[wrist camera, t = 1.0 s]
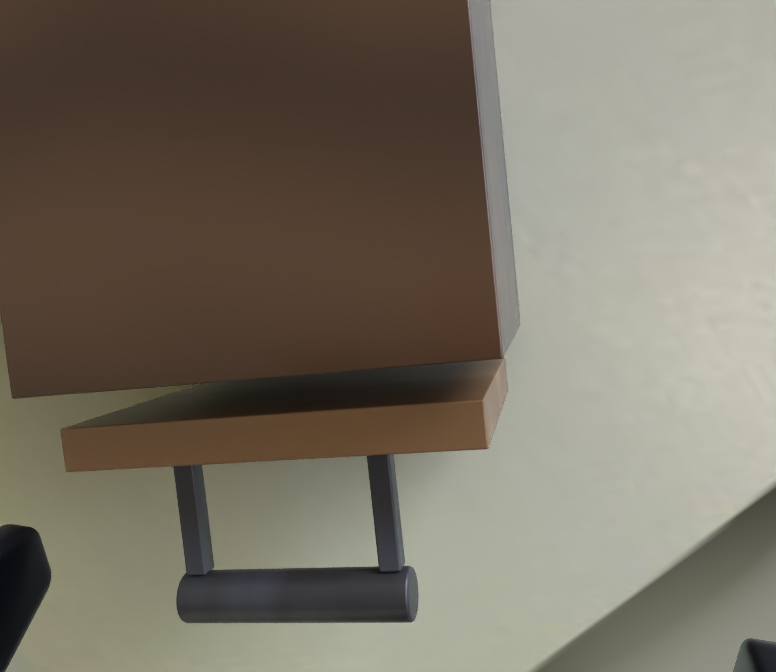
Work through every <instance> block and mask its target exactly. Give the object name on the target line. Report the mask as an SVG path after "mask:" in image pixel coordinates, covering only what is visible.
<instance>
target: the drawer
mask: <svg viewBox="0 0 776 672" xmlns="http://www.w3.org/2000/svg"><path fill="white" fill-rule="evenodd" d="M507 392H508V383H507V373H506V362H505V358H502V359H496V360H484V361H472V362H460V363H447V364H435V365H423V366H410V367H398V368H386V369H373V370H361V371H349V372H337V373H324V374H312V375H300V376H287V377H275V378H263V379H250V380H238V381H226V382H214V383H203V384H200V385H197V386H194V387H191V388H188V389H185V390H181V391H178V392H175V393H172V394H169V395H166V396H163V397H159V398H156V399H153V400H150V401H147V402H144V403H141V404H137V405H134V406H131V407H128V408H125V409H122V410H119V411H115V412H112V413H109V414H106V415H103V416H100V417H97V418H93V419H90V420H87V421H84V422H81V423H78V424H75V425H71V426H68V427H65V428H62V429H61V438H62V446H63V453H64V460H65V468H66V472H78V471H96V470H115V469H133V468H151V467H169V466H173V467H174V475H175V483H176V491H177V499H178V507H179V515H180V523H181V531H182V539H183V547H184V555H185V563H186V571H187V573H186V574H185V575H184V576H183V577H182V579H181V581H180V583H179V586H178V591H177V600H176V601H177V611H178V614H179V617H180V618H181V620H182V621H184V622H186V623H387V622H413V621H414V620H415V618H416V615H417V609H418V583H417V577H416V573H415V570H414V568H413V567H411V566H403V565H404V563H405V558H404V549H403V540H402V530H401V521H400V511H399V502H398V492H397V483H396V473H395V464H394V454H406V453H424V452H442V451H461V450H479V449H488V448H489V445H490V442H491V439H492V436H493V433H494V430H495V427H496V424H497V421H498V418H499V415H500V413H501V410H502V407H503V404H504V401H505V398H506V395H507ZM351 456H367V462H368V471H369V480H370V489H371V499H372V508H373V517H374V526H375V536H376V545H377V554H378V563H379V567H332V568H284V569H235V570H212V569H213V568H214V560H213V552H212V544H211V536H210V527H209V519H208V511H207V503H206V495H205V486H204V478H203V470H202V465H206V464H224V463H242V462H260V461H278V460H297V459H315V458H333V457H351Z"/></svg>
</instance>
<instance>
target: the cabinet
mask: <svg viewBox="0 0 776 672" xmlns="http://www.w3.org/2000/svg"><path fill="white" fill-rule="evenodd" d="M0 314H1V322H2V329H3V336H4V343H5V351H6V358H7V365H8V373H9V380H10V387H11V394H12V398H14V399H17V398H29V397H41V396H54V395H66V394H78V393H91V392H103V391H115V390H127V389H140V388H152V387H164V386H177V385H189V384H201V383H214V382H226V381H238V380H250V379H263V378H275V377H287V376H300V375H312V374H324V373H337V372H349V371H361V370H373V369H386V368H398V367H410V366H423V365H435V364H447V363H460V362H472V361H484V360H496V359H502V358H503V357H504V355H505V353H506V351H507V349H508V347H509V345H510V343H511V341H512V340H513V338H514V336H515V334H516V332H517V330H518V328H519V326H520V314H519V304H518V293H517V282H516V272H515V261H514V250H513V240H512V229H511V218H510V208H509V197H508V186H507V176H506V165H505V154H504V144H503V133H502V122H501V112H500V101H499V90H498V80H497V69H496V59H495V48H494V37H493V27H492V16H491V5H490V0H0Z"/></svg>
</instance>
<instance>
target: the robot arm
mask: <svg viewBox="0 0 776 672" xmlns="http://www.w3.org/2000/svg"><path fill="white" fill-rule="evenodd" d="M50 581H51V569H50V566H49V563H48V559H47V556H46V553H45V550H44V547H43V544H42V541H41V538H40V535H39V533H38V532H37V531H36V530H35V529H34V528H32V527H26V526H20V525H13V524H7V525H3V526H1V527H0V672H5V671H6V669H7V667H8V665H9V663H10V661H11V659H12V657H13V655H14V654H15V652H16V650H17V648H18V646H19V644H20V642H21V640H22V638H23V636H24V634H25V632H26V631H27V629H28V627H29V625H30V623H31V621H32V619H33V617H34V615H35V613H36V611H37V610H38V608H39V606H40V604H41V602H42V600H43V598H44V596H45V594H46V592H47V590H48V588H49V585H50ZM733 672H776V642H771V641H764V640H758V639H752V638H749V639H746V640H744V641H743V643H742V644H741V647H740V650H739V653H738V656H737V660H736V663H735V667H734V670H733Z"/></svg>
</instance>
